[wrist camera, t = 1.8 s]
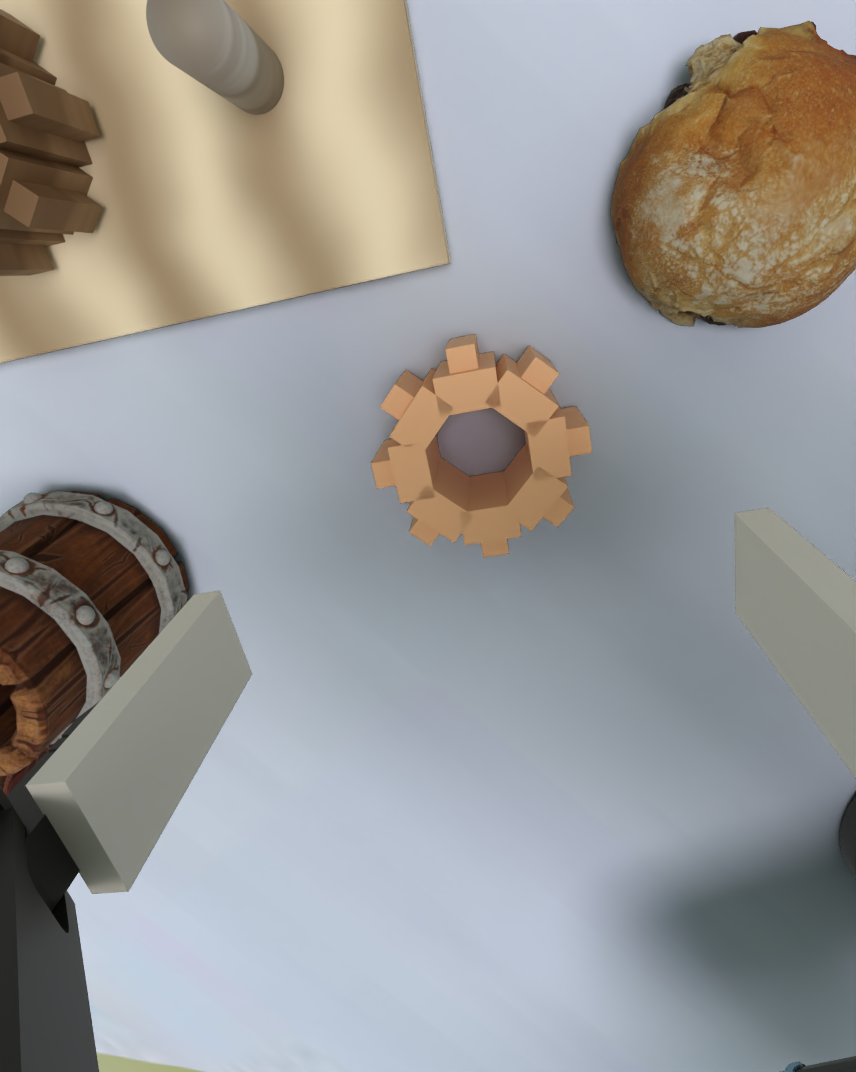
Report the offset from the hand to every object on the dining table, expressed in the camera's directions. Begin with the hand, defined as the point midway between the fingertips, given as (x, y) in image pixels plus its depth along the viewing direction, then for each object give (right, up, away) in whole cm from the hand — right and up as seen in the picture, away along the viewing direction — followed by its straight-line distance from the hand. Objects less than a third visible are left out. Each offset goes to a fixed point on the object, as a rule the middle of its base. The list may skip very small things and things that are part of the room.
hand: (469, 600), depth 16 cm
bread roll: (+12, +16, +10) cm, 23 cm away
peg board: (-13, +20, +11) cm, 26 cm away
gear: (+2, +7, +15) cm, 17 cm away
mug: (-21, -2, +21) cm, 30 cm away
